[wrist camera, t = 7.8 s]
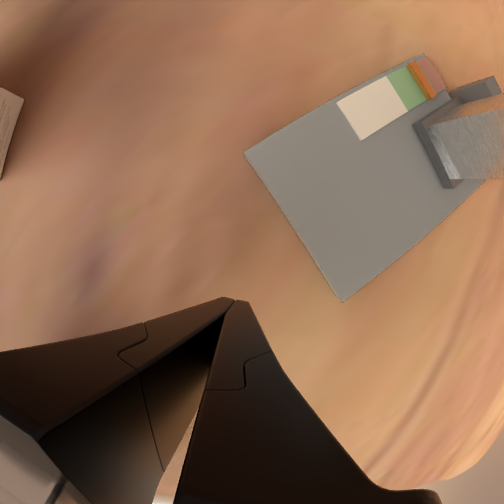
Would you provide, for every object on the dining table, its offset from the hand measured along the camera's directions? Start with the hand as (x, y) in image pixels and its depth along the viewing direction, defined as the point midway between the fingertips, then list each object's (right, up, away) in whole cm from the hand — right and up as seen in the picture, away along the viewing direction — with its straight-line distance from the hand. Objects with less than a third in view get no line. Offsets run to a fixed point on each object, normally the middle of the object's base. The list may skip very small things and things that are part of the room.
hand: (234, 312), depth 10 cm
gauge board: (+11, +9, +10) cm, 17 cm away
